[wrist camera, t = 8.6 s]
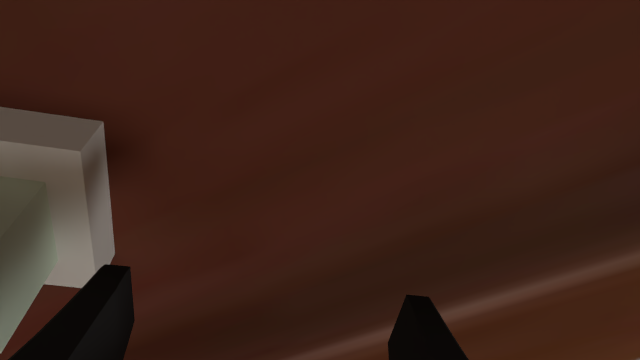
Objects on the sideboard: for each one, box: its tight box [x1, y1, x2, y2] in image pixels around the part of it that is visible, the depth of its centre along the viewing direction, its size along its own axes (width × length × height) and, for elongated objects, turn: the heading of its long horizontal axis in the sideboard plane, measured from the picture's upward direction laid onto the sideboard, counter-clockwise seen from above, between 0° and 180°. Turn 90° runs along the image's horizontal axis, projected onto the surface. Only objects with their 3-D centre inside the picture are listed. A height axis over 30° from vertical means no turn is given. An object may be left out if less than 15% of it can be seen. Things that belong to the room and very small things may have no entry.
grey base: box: [0, 107, 115, 288], centre depth 22 cm, size 8×8×3 cm
